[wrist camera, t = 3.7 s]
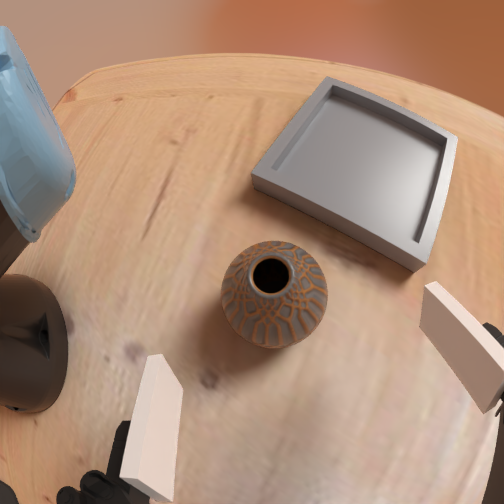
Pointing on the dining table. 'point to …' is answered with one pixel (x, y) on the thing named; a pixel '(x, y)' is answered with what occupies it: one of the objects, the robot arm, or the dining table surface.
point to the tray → (363, 170)
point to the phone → (7, 494)
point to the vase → (274, 294)
